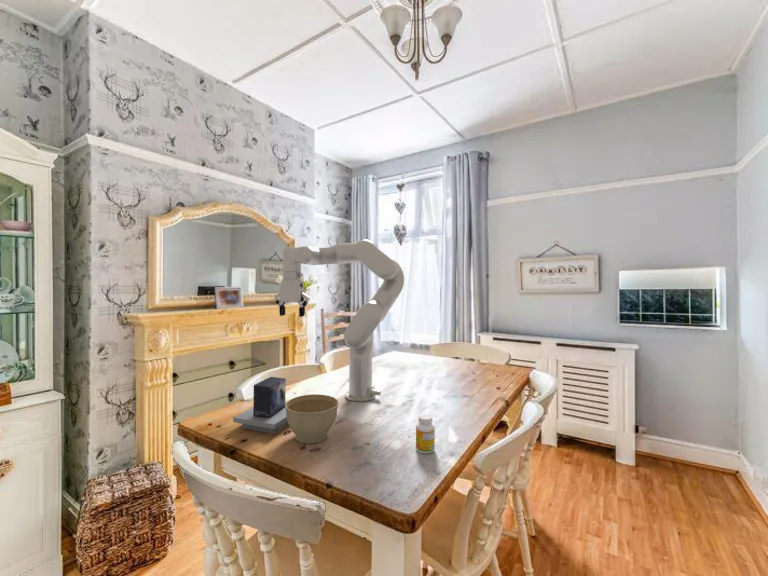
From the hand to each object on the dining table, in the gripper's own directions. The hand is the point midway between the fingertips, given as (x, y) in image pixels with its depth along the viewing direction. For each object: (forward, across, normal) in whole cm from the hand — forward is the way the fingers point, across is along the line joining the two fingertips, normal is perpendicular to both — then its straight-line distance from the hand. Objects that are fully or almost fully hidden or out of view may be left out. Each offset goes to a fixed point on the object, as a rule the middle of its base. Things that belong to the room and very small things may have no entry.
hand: (292, 315), depth 149 cm
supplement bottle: (+34, -65, +30) cm, 79 cm away
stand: (+33, -11, +30) cm, 46 cm away
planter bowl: (+34, -30, +34) cm, 56 cm away
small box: (+30, -11, +30) cm, 43 cm away
